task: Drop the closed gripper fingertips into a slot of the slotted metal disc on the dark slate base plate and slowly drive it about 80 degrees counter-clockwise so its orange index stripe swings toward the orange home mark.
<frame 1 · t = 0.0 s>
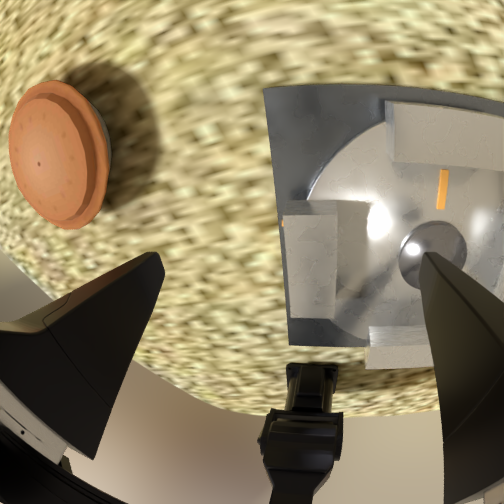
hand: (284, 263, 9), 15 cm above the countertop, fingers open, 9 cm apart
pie: (73, 147, 26), on the countertop
base plate: (423, 237, 23), on the countertop
slotted metal disc: (434, 259, 20), point 3 cm above the countertop, hinge at 0.0°
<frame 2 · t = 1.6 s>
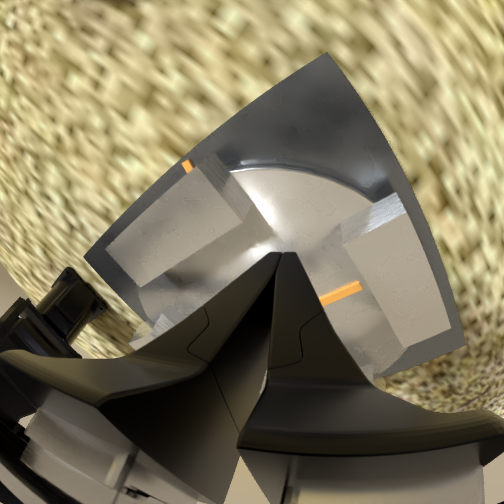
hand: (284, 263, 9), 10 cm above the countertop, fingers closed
base plate: (277, 296, 24), on the countertop
slotted metal disc: (270, 328, 21), point 3 cm above the countertop, hinge at 0.0°
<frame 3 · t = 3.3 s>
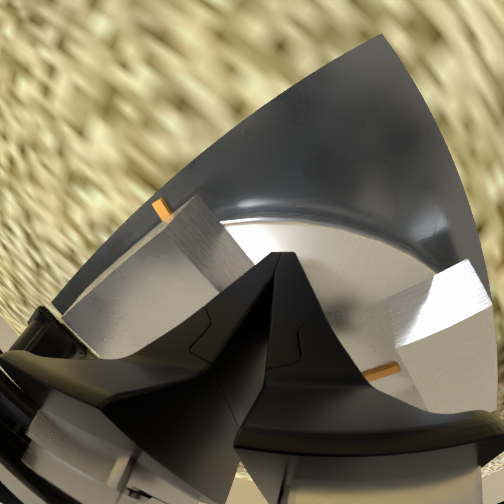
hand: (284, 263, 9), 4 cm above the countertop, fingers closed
base plate: (287, 362, 18), on the countertop
slotted metal disc: (278, 408, 15), point 3 cm above the countertop, hinge at 0.0°, touching gripper
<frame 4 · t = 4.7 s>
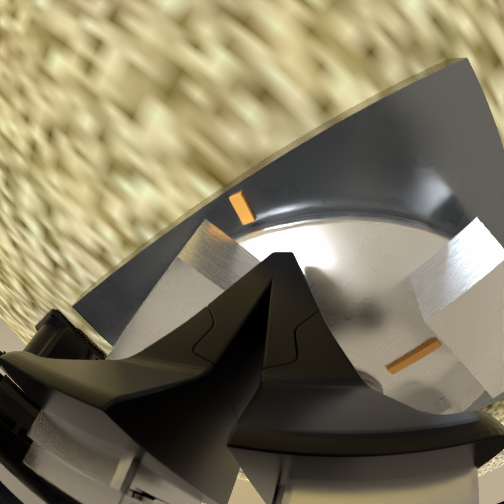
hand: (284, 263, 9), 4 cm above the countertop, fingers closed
base plate: (332, 362, 18), on the countertop
slotted metal disc: (331, 408, 15), point 3 cm above the countertop, hinge at 15.9°, touching gripper
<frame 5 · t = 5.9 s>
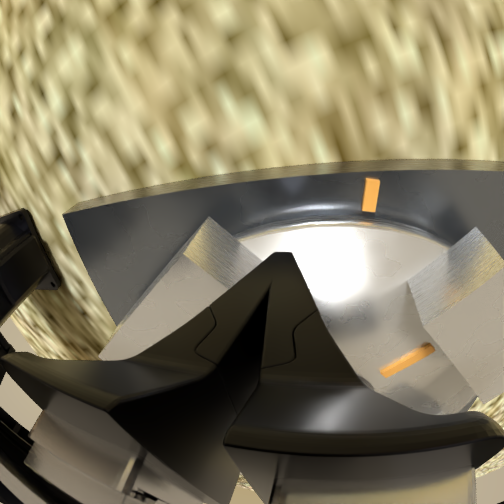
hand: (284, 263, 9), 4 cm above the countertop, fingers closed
base plate: (325, 364, 18), on the countertop
slotted metal disc: (323, 410, 15), point 3 cm above the countertop, hinge at 38.8°, touching gripper
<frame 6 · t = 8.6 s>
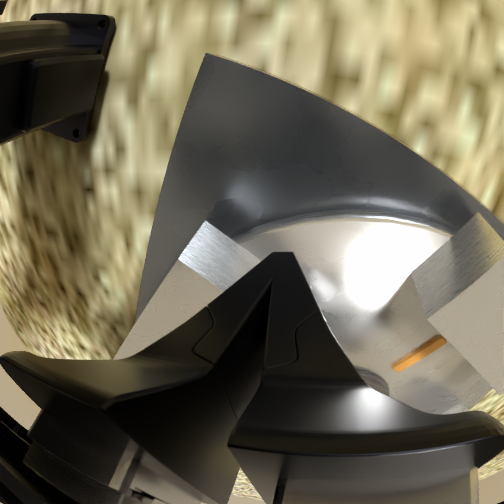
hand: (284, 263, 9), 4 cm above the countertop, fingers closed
base plate: (338, 361, 17), on the countertop
slotted metal disc: (337, 407, 15), point 3 cm above the countertop, hinge at 76.5°, touching gripper
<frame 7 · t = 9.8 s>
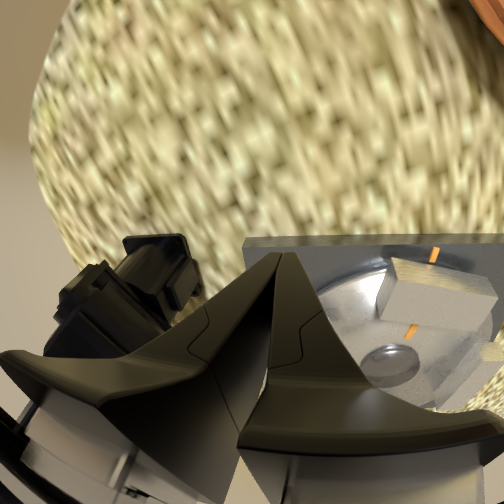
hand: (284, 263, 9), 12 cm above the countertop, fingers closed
base plate: (386, 343, 27), on the countertop
slotted metal disc: (389, 371, 24), point 3 cm above the countertop, hinge at 76.6°
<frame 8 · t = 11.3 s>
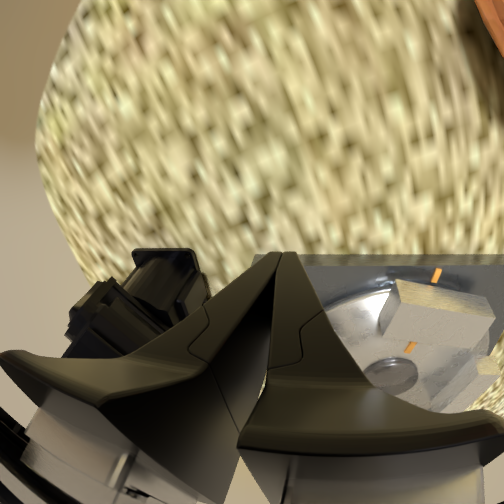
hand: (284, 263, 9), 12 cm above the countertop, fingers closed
base plate: (386, 355, 28), on the countertop
slotted metal disc: (389, 382, 25), point 3 cm above the countertop, hinge at 76.6°
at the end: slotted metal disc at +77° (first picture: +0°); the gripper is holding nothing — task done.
